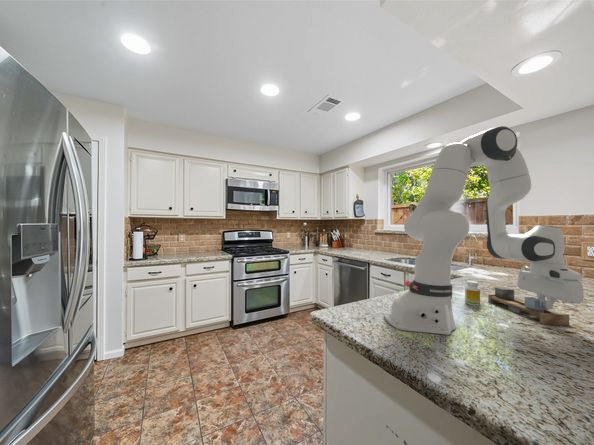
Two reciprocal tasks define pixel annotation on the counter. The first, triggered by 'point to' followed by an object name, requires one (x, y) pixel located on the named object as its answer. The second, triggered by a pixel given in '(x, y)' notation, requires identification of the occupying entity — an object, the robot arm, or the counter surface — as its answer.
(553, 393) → the counter surface
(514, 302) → the beam
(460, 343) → the counter surface
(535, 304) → the block
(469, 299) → the supplement bottle
